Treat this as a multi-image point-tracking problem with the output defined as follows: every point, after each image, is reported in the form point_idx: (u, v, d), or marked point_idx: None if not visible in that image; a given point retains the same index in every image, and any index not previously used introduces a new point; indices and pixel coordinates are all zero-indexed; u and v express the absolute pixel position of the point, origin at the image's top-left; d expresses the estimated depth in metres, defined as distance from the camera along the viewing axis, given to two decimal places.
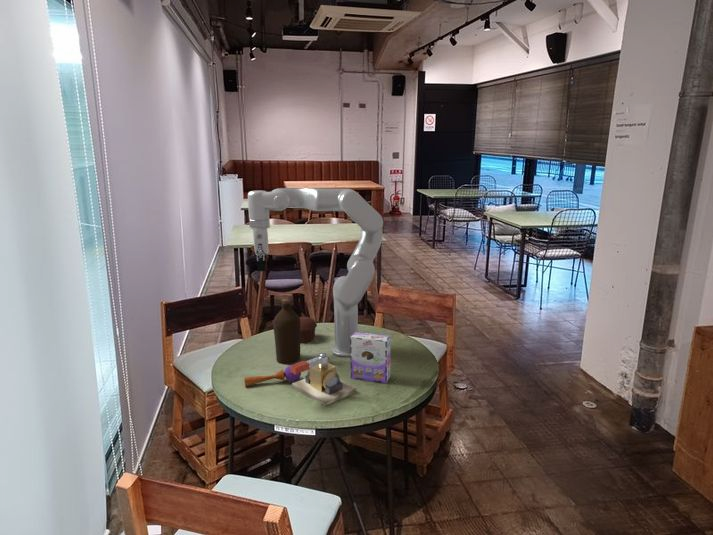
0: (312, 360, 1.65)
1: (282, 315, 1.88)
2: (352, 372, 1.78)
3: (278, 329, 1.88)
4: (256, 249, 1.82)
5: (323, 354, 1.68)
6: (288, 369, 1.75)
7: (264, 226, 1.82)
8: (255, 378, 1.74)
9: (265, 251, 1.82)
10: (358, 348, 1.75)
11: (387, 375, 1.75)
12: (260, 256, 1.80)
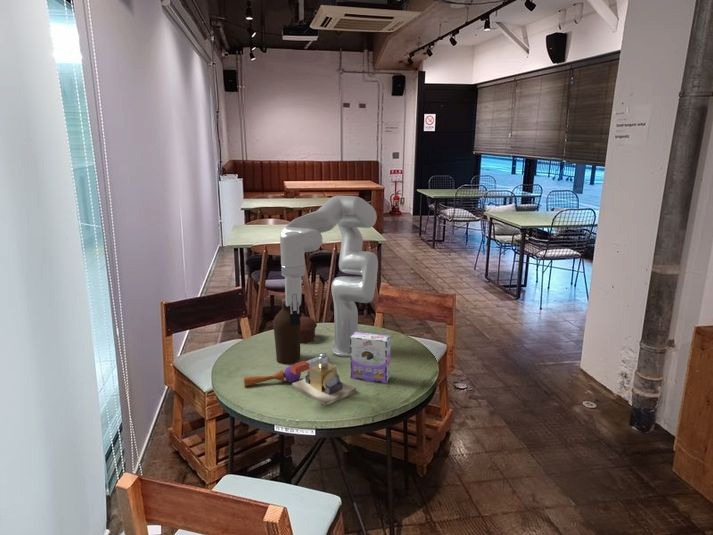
0: (312, 360, 1.65)
1: (282, 315, 1.88)
2: (352, 372, 1.78)
3: (278, 329, 1.88)
4: None
5: (323, 354, 1.68)
6: (288, 370, 1.75)
7: None
8: (255, 378, 1.74)
9: None
10: (358, 348, 1.75)
11: (387, 375, 1.75)
12: None
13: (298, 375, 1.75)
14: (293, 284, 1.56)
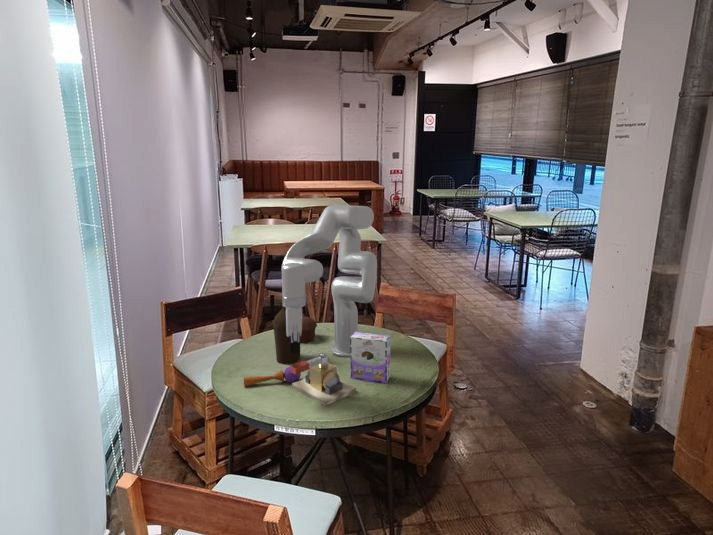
0: (312, 360, 1.65)
1: (282, 315, 1.88)
2: (352, 372, 1.78)
3: (278, 329, 1.88)
4: None
5: (323, 354, 1.68)
6: (287, 370, 1.75)
7: None
8: (255, 378, 1.74)
9: None
10: (358, 348, 1.75)
11: (387, 375, 1.75)
12: None
13: (298, 375, 1.75)
14: (294, 315, 1.58)
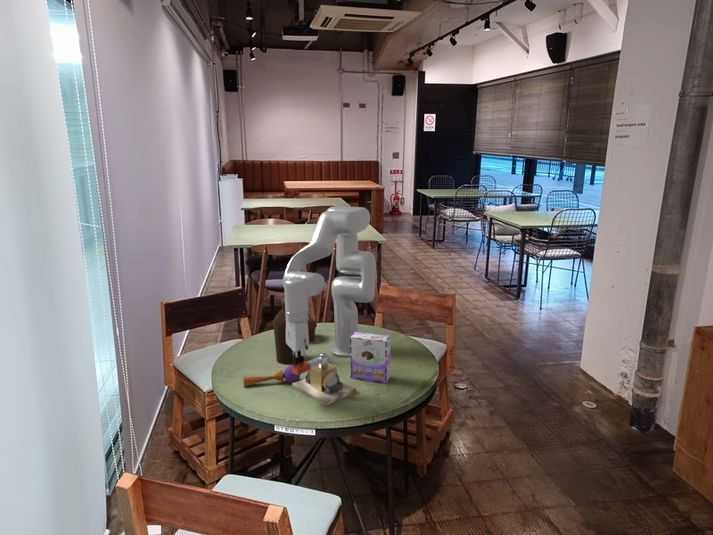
0: (313, 360, 1.65)
1: (282, 315, 1.88)
2: (352, 372, 1.78)
3: (278, 329, 1.88)
4: None
5: (323, 354, 1.68)
6: (287, 370, 1.75)
7: None
8: (254, 378, 1.74)
9: None
10: (358, 348, 1.75)
11: (387, 375, 1.75)
12: None
13: (298, 375, 1.75)
14: (302, 329, 1.57)
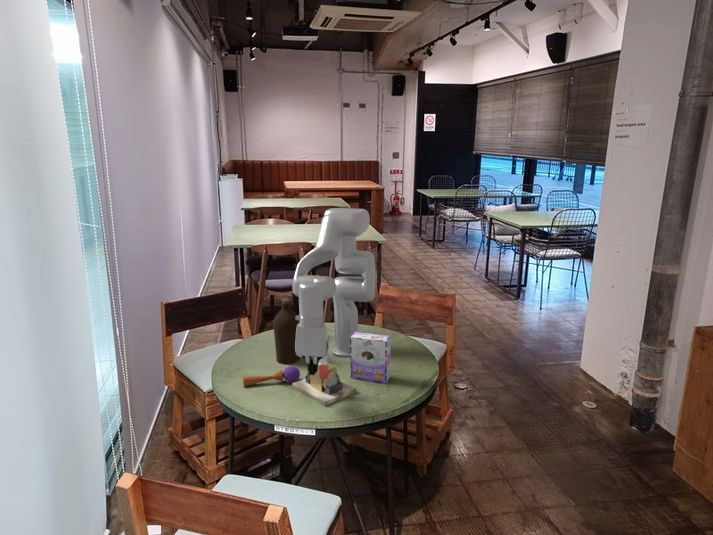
0: (323, 362, 1.64)
1: (282, 315, 1.88)
2: (352, 372, 1.78)
3: (278, 329, 1.88)
4: None
5: None
6: (287, 370, 1.75)
7: (300, 323, 1.55)
8: (254, 378, 1.74)
9: None
10: (358, 348, 1.75)
11: (387, 375, 1.75)
12: None
13: (297, 375, 1.75)
14: (326, 331, 1.56)
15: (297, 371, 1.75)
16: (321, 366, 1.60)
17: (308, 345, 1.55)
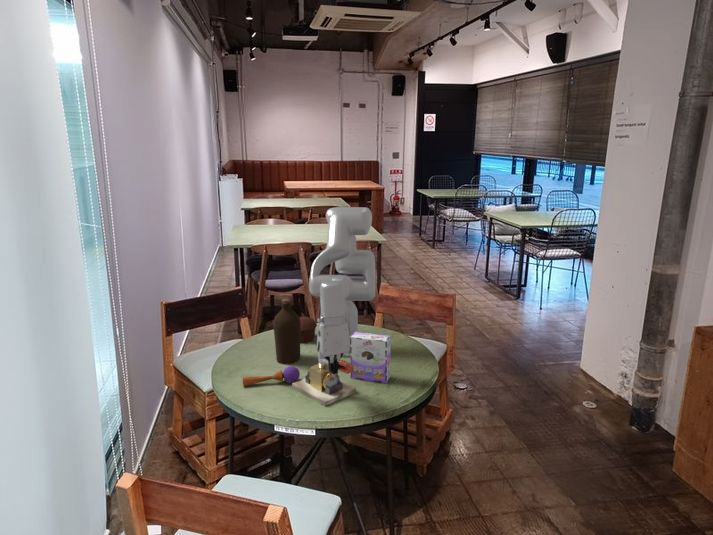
0: None
1: (282, 315, 1.88)
2: (352, 372, 1.78)
3: (278, 329, 1.88)
4: (317, 346, 1.57)
5: None
6: (286, 370, 1.75)
7: (326, 324, 1.53)
8: (254, 378, 1.74)
9: (321, 352, 1.55)
10: (358, 348, 1.75)
11: (387, 375, 1.75)
12: (323, 356, 1.57)
13: (297, 376, 1.75)
14: None
15: (297, 371, 1.75)
16: (339, 363, 1.62)
17: (336, 344, 1.56)
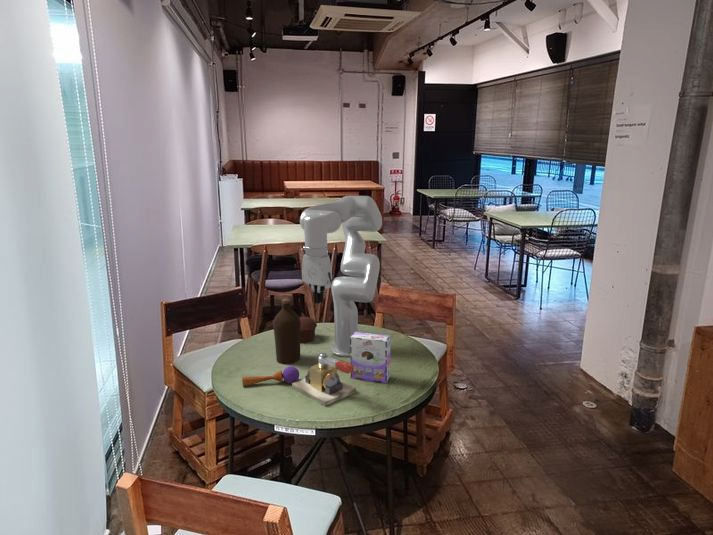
0: (333, 360, 1.65)
1: (282, 315, 1.88)
2: (352, 372, 1.78)
3: (278, 329, 1.88)
4: None
5: (323, 353, 1.68)
6: (286, 370, 1.75)
7: None
8: (253, 378, 1.74)
9: None
10: (358, 348, 1.75)
11: (387, 375, 1.75)
12: None
13: (296, 376, 1.75)
14: (327, 263, 1.64)
15: (296, 372, 1.75)
16: (339, 363, 1.62)
17: (311, 274, 1.66)
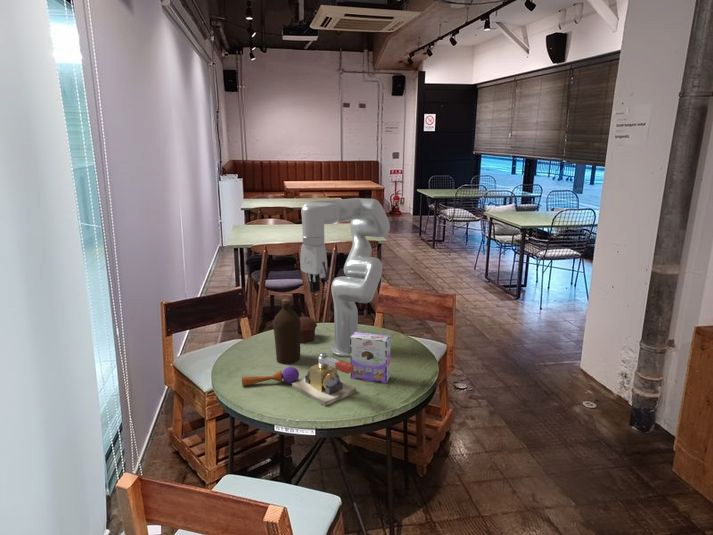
0: (333, 360, 1.65)
1: (282, 315, 1.88)
2: (352, 372, 1.78)
3: (278, 329, 1.88)
4: None
5: (323, 353, 1.68)
6: (286, 371, 1.74)
7: None
8: (253, 378, 1.74)
9: None
10: (358, 348, 1.75)
11: (387, 375, 1.75)
12: None
13: (296, 376, 1.74)
14: (322, 252, 1.68)
15: (296, 372, 1.75)
16: (339, 363, 1.62)
17: (307, 262, 1.71)
